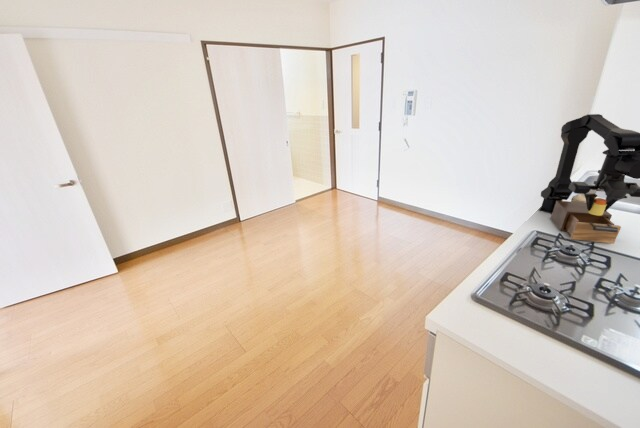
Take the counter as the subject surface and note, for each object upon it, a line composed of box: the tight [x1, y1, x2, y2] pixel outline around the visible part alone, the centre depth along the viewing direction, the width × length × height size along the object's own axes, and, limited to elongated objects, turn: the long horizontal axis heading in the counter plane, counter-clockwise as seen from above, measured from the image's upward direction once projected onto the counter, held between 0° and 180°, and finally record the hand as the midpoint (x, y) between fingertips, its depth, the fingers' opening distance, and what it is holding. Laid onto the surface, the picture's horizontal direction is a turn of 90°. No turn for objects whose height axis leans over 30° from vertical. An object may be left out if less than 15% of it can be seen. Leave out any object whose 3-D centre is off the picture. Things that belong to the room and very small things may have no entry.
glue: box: [588, 197, 607, 216], centre depth 102 cm, size 4×4×6 cm
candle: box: [570, 193, 586, 203], centre depth 121 cm, size 6×6×10 cm
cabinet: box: [550, 200, 613, 233], centre depth 113 cm, size 12×14×9 cm
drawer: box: [564, 214, 622, 244], centre depth 103 cm, size 15×12×8 cm
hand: (596, 210), depth 102 cm, fingers closed on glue, 4 cm apart
